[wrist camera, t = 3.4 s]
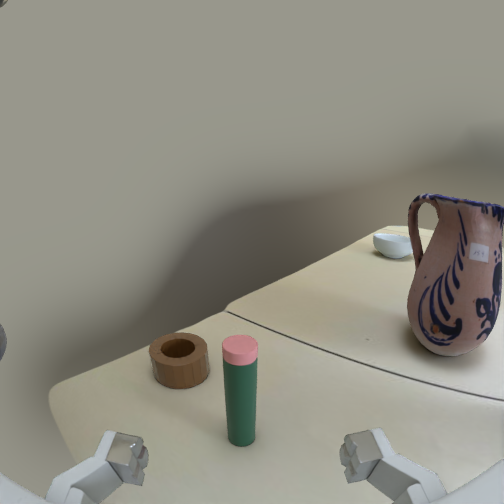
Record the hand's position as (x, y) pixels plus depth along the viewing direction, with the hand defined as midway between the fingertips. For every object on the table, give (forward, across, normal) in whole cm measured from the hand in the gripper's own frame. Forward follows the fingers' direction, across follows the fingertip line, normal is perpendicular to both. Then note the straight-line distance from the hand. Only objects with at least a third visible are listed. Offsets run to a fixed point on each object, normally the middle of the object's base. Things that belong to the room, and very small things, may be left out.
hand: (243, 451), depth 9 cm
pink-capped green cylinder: (+12, 0, +15) cm, 19 cm away
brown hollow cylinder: (+24, +8, +15) cm, 29 cm away
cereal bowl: (+82, -56, +16) cm, 100 cm away
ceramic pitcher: (+27, -34, +16) cm, 46 cm away
